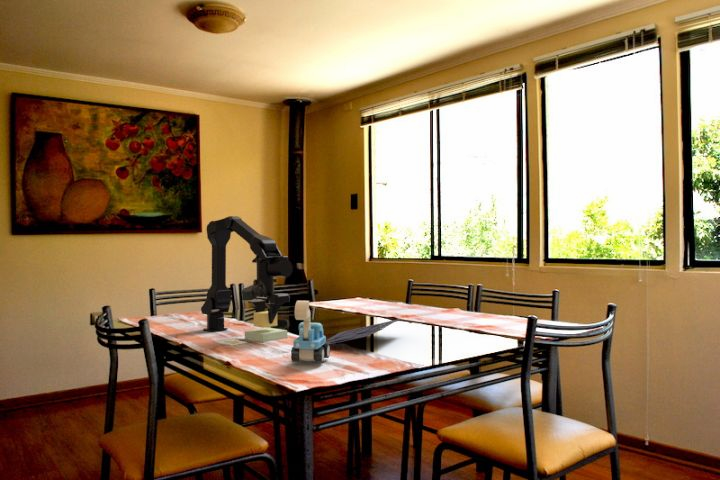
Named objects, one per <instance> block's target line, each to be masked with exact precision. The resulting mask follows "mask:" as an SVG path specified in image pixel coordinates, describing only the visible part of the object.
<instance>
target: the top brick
mask: <svg viewBox="0 0 720 480" xmlns="http://www.w3.org/2000/svg"><path fill="white" fill-rule="evenodd" d="M277 319H278V313H277V314H276V316H275V319H274V321H273V323H272V324H269V318H268V310H265V311H264V312H256V311H255V312H253V327H256V328H260V329H262V328H271V326H277Z"/></svg>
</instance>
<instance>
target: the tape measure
mask: <svg viewBox="0 0 720 480" xmlns="http://www.w3.org/2000/svg"><path fill="white" fill-rule="evenodd" d="M290 326H291V322H290V320H288V319H286V318H277V326H271V327H270V328H275V329H281V330H285V329H287V328H289V327H290Z"/></svg>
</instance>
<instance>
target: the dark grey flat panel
mask: <svg viewBox="0 0 720 480" xmlns="http://www.w3.org/2000/svg"><path fill="white" fill-rule="evenodd" d="M400 320H401V318H399V319H398V318H397V319H394V320H390V321H385V322H381V323H376V324H371V325H367V326H363V327H358V328H354V329H349V330H343V331H340V332H337V333H336V334H334V335H333V336H331V337H329V338H328V339H326V343H327V344H330V345H332V344H341V343H344V342H345V343H346V342H350V341H354V340H360V339H364V338H366V337H369V336H371V335H372V334H376V333H378V332H380V331H382V330H384V329H385V328H387V327H388V326H390V325H392V324H394V323H395V322H398V321H400Z"/></svg>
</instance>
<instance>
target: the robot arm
mask: <svg viewBox="0 0 720 480" xmlns="http://www.w3.org/2000/svg"><path fill="white" fill-rule="evenodd" d="M232 233H235V234H236V235H238V236H239V237H240V238H241V239H243V240H244V241H245V242H246V243H247V244H248V245H249V249H250V251H252V253H253V254H254V255H255V257H254V258H253V259H252V260H251V262H252V263H254V264H255V263H256V279H253V284H252V285H249V286H247V287H245V288H243V289H242V290H241V299H242V301H246V302H248V304H250V305H251V306H253V308H254V310H255V313H256V312H264V311H266V308H267V311H268V318H269V324H272V323H273V321H274V319H275V316H276V314H277V315H278V312H279V310H280V308H281V307H282V305H283V304H285V303H290V302H291V301H290V299H291V297H290V295H289V293H282V292H280V293H278V292H277V291H276V290H275V283H277V278H288V277H290V276H291V275H292V273H293V271H294V270H293V268H294V267H293V264H292V262H291V261H290V260H289V257H288V256H287V255H284V256H283V254H282V252H281V251H280V249H279V247H278V245H277V242H276V241H275V239H273V238H271V237H269V236H266V235H263V234H260V233H259V232H258V231H257V230H255V229H254V228H252V227H251V226H250V225H248V224H247V223H246V222H245V221H244V220H242V218H241V217H240V216H238V215H237V216H235V215H234V216H233V215H230V216H229V215H228V216H227V217H224V218H221V219H218V220H210V221H209V222H208V224H207V225H206V235H207V237H206V238H207V240H208V241H209V243H210V245H211V285H210V287H209V289H208V291H207V293H206V300H205V301H204V303H203V304H202V306H201V307H200V311H201V315H206V327H205V328H203V331H208V332H218V331H219V332H220V331H224V330H226V331H227V330H228V329H229V328H228V327H225V314H224V313H230V312H229V311H230V307H231V302H232V301H233V300H232V299H233V298H232V290H231V289H229V288H228V286H227V283H226V282H227V280H226V279H227V278H226V277H227V272H226V271H227V262H226V261H227V244H228V242H229V241H230V240H231V236H232ZM275 277H277V278H275ZM267 301H268V303H267Z"/></svg>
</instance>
